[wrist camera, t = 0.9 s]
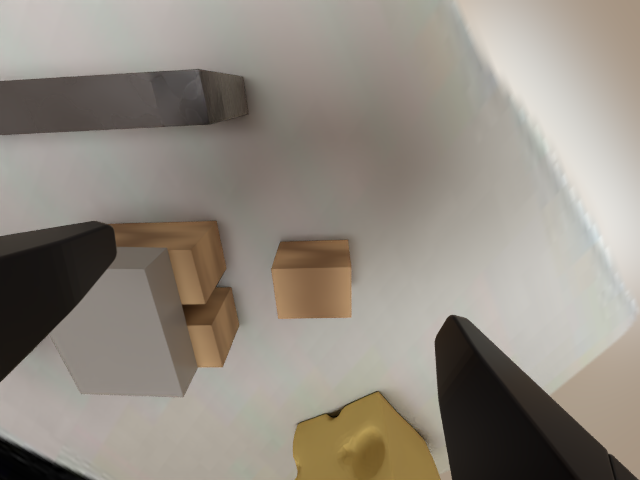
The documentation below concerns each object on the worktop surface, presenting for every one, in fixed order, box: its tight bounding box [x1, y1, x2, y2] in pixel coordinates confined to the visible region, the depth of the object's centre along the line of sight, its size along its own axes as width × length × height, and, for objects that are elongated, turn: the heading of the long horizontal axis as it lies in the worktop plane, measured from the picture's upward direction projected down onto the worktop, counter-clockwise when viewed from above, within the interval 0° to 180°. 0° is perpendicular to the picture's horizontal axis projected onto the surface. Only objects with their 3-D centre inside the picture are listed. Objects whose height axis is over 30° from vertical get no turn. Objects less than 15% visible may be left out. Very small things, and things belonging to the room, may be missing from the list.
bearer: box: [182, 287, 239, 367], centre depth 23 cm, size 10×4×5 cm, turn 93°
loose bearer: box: [271, 240, 351, 319], centre depth 21 cm, size 5×4×4 cm
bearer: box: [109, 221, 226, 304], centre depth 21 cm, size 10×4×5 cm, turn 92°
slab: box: [49, 247, 198, 397], centre depth 19 cm, size 7×10×2 cm
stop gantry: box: [0, 69, 248, 135], centre depth 15 cm, size 17×2×6 cm, turn 93°
